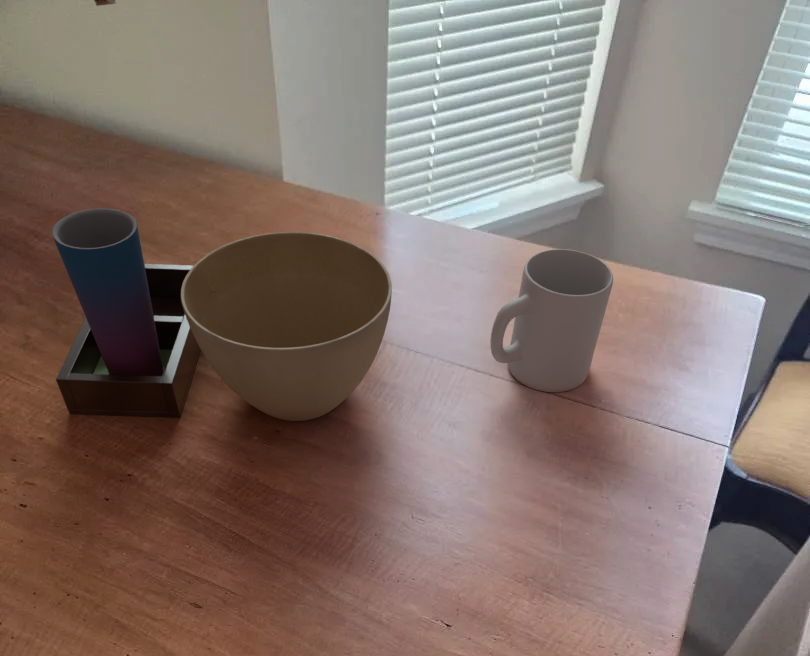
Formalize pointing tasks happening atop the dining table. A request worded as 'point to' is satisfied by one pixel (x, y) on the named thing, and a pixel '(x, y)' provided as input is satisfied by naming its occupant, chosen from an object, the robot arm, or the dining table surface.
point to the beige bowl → (289, 319)
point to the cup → (111, 287)
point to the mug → (554, 320)
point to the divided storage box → (131, 394)
